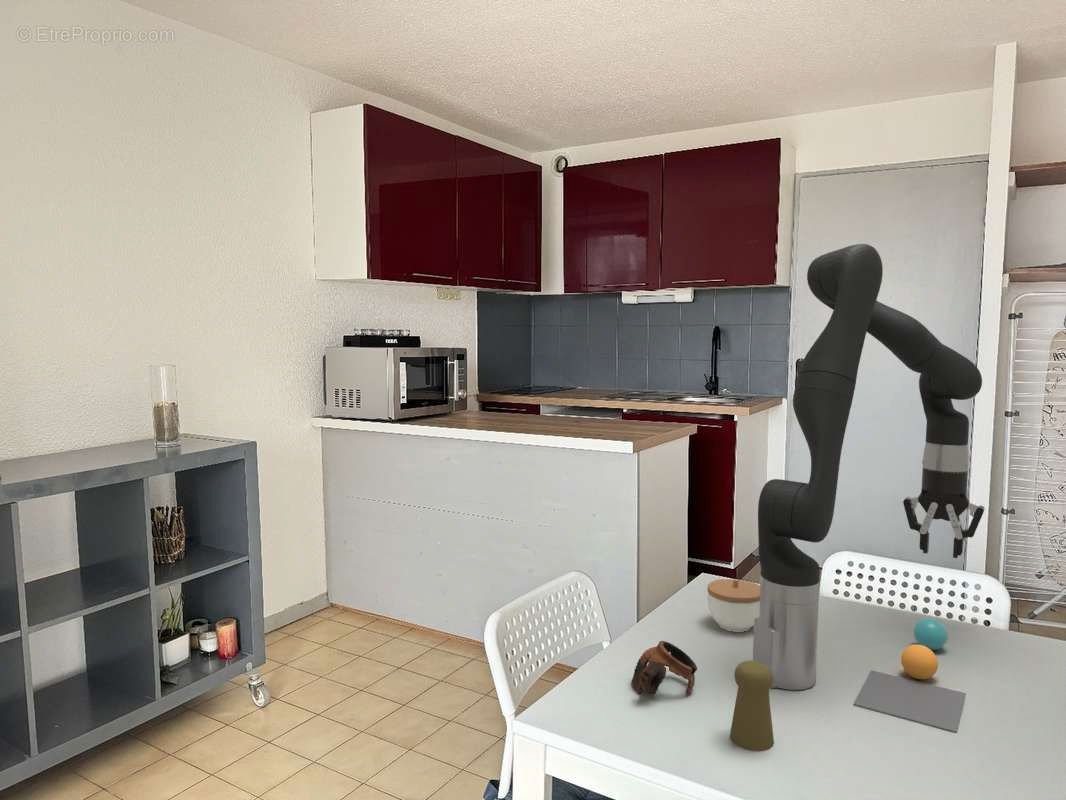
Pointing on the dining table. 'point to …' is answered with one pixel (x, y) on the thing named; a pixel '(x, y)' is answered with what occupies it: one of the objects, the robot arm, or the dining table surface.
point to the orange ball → (919, 662)
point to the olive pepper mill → (752, 707)
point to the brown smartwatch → (662, 667)
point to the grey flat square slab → (912, 700)
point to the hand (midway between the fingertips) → (940, 554)
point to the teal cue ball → (930, 634)
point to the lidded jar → (734, 603)
